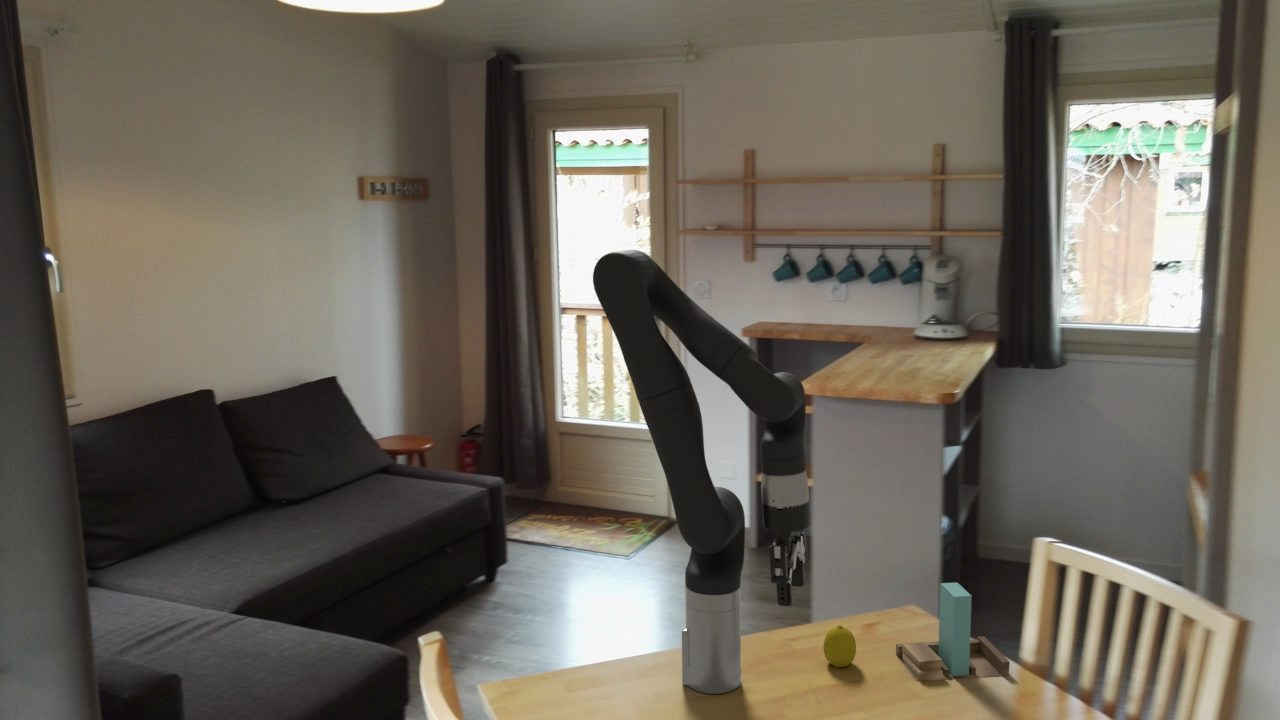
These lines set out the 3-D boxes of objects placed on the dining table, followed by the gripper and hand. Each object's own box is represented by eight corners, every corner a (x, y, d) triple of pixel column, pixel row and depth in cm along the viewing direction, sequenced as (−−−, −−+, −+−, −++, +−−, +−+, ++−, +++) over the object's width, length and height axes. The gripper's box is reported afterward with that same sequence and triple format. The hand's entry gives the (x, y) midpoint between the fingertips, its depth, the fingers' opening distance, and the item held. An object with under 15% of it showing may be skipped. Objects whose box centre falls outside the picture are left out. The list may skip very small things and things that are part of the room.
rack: (915, 686, 167) (916, 666, 167) (895, 659, 177) (896, 641, 177) (1008, 681, 169) (1009, 661, 168) (983, 654, 179) (984, 636, 178)
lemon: (861, 667, 174) (862, 624, 173) (845, 679, 170) (846, 634, 169) (833, 658, 178) (833, 616, 177) (817, 670, 174) (817, 626, 173)
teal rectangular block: (951, 676, 169) (954, 596, 167) (938, 660, 175) (940, 583, 172) (968, 675, 169) (971, 595, 167) (954, 659, 175) (957, 582, 173)
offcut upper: (919, 670, 168) (919, 661, 168) (902, 652, 175) (902, 643, 174) (941, 668, 168) (942, 659, 168) (923, 650, 175) (923, 641, 175)
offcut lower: (918, 680, 167) (919, 672, 167) (902, 659, 175) (902, 651, 175) (942, 679, 168) (942, 671, 167) (924, 658, 175) (925, 650, 175)
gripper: (773, 485, 169) (779, 578, 171) (750, 510, 156) (757, 610, 158) (818, 486, 166) (823, 581, 168) (798, 511, 153) (804, 613, 155)
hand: (791, 595), depth 163 cm, fingers open, 8 cm apart
